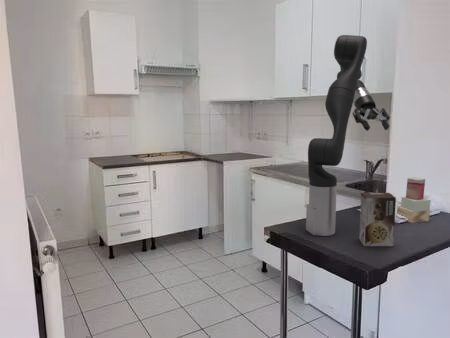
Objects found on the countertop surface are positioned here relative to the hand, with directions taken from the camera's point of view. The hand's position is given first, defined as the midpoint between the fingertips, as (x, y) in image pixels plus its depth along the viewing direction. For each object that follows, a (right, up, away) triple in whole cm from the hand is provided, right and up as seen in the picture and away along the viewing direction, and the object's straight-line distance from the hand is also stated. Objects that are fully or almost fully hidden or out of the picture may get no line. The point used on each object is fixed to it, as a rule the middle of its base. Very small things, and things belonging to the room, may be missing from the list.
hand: (377, 129), depth 143 cm
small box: (+12, -28, -5) cm, 31 cm away
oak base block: (+12, -36, -4) cm, 38 cm away
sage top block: (+12, -31, -5) cm, 34 cm away
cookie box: (-13, -40, -28) cm, 51 cm away
